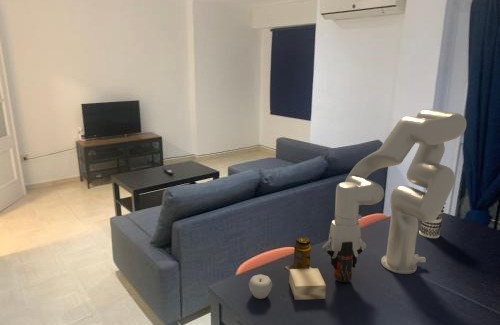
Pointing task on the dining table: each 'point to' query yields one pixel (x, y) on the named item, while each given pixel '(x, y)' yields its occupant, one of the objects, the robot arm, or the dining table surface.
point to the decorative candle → (431, 226)
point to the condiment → (301, 254)
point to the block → (307, 284)
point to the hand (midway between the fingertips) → (343, 265)
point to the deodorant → (344, 263)
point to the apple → (260, 286)
